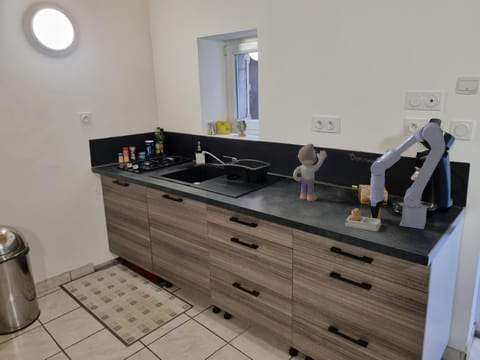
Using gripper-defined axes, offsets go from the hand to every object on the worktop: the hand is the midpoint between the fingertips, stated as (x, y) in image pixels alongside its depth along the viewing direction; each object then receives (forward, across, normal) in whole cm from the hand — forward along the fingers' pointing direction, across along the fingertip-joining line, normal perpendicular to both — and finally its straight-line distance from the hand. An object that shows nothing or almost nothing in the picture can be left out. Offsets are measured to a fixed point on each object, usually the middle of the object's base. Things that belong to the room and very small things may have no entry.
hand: (375, 216), depth 165 cm
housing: (+2, +9, -4) cm, 10 cm away
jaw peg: (+2, 0, 0) cm, 2 cm away
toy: (+2, -16, -36) cm, 40 cm away
